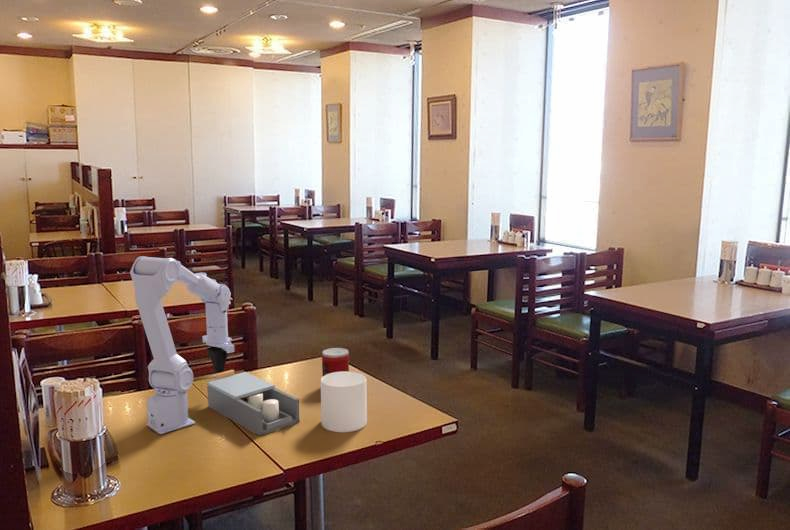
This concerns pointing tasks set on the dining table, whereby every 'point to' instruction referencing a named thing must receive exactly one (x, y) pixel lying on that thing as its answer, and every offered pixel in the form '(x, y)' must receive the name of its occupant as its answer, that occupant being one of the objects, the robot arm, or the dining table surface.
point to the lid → (239, 384)
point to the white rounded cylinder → (270, 410)
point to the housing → (255, 410)
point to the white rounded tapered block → (256, 400)
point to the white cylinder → (343, 401)
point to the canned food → (335, 360)
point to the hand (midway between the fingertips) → (219, 371)
